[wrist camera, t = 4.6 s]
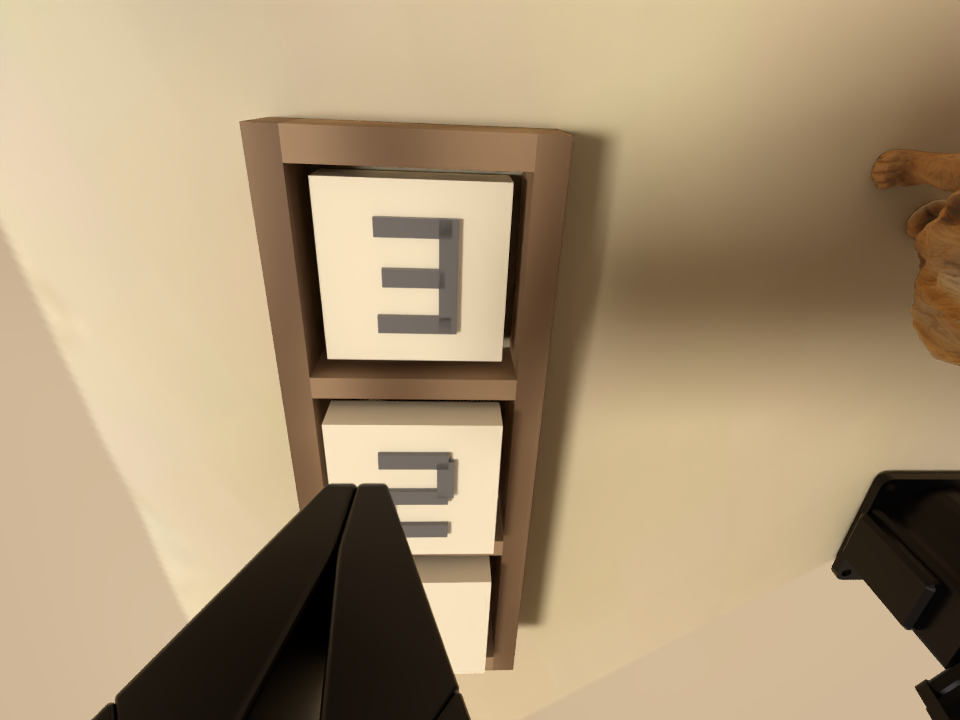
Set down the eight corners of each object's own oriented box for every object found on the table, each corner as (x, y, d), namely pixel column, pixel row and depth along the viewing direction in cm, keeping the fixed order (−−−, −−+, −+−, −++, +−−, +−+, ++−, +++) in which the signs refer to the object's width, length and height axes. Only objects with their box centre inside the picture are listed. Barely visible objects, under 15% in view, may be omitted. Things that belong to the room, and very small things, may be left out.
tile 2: (499, 402, 19) (503, 429, 17) (490, 525, 22) (493, 557, 20) (331, 400, 19) (320, 428, 17) (344, 525, 21) (336, 559, 20)
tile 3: (508, 175, 17) (514, 183, 15) (498, 343, 20) (501, 364, 18) (320, 168, 16) (306, 176, 15) (336, 340, 19) (326, 361, 18)
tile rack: (557, 129, 17) (573, 135, 14) (507, 623, 28) (513, 669, 25) (268, 117, 16) (239, 121, 14) (335, 626, 27) (325, 673, 25)
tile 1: (489, 552, 22) (491, 586, 21) (482, 642, 25) (484, 677, 24) (347, 554, 22) (339, 588, 20) (356, 644, 25) (350, 680, 23)
